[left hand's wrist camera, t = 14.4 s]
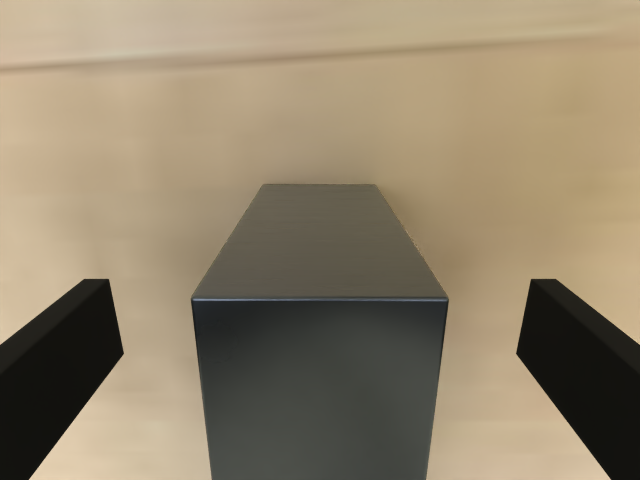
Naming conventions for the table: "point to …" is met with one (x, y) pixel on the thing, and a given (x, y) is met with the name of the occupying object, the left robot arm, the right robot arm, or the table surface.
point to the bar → (319, 341)
